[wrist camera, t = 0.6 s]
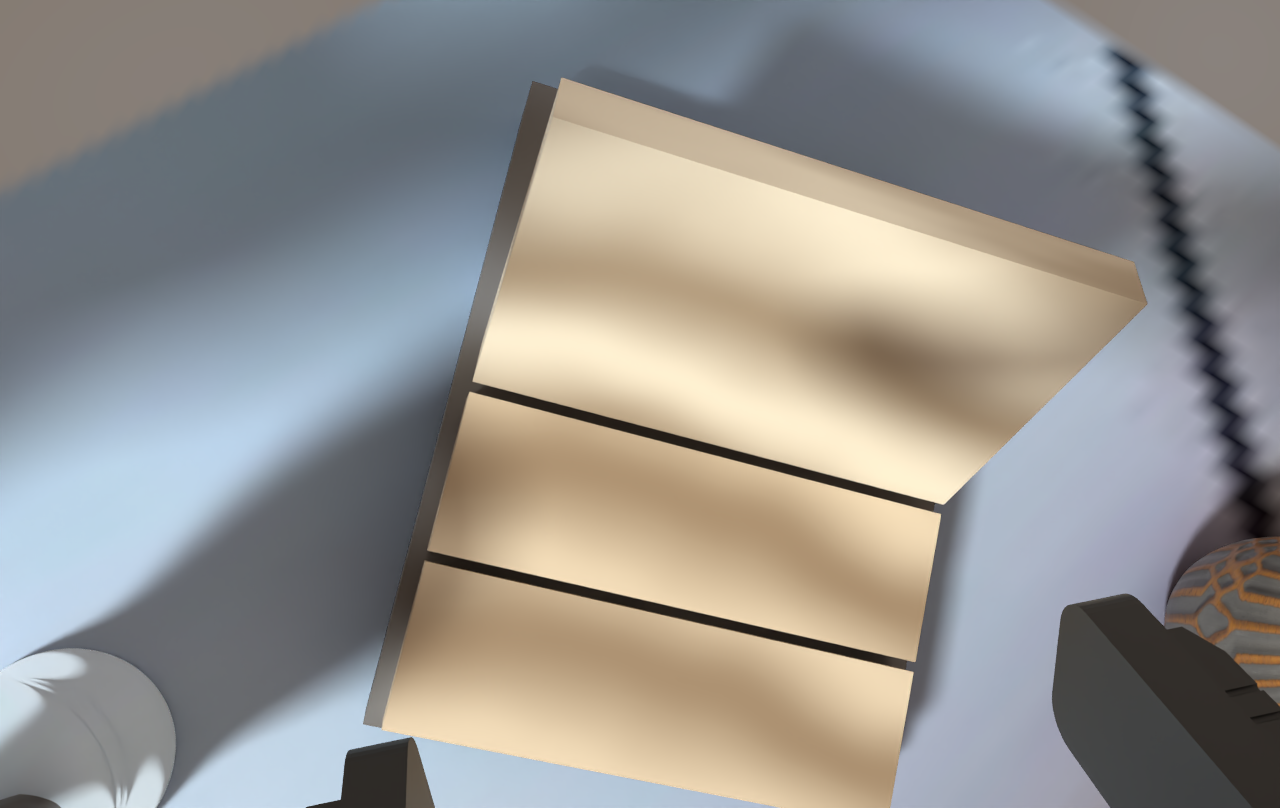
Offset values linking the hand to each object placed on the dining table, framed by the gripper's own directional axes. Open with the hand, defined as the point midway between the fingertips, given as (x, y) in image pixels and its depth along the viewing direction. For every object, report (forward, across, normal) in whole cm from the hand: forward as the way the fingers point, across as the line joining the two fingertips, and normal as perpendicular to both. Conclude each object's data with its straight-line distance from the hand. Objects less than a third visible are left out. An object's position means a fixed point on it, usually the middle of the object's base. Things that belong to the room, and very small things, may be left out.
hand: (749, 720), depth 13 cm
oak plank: (+16, -5, +2) cm, 17 cm away
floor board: (+21, -3, +9) cm, 23 cm away
